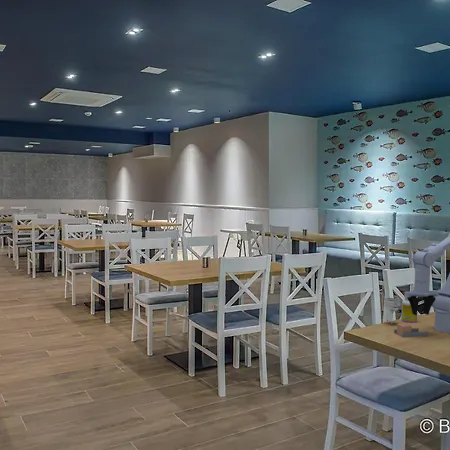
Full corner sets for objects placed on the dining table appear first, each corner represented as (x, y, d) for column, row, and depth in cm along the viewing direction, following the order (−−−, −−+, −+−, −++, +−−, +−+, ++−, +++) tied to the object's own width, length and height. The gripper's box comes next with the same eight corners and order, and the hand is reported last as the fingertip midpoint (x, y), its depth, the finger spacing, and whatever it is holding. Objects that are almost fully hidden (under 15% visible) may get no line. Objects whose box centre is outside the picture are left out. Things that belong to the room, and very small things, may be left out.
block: (405, 333, 207) (405, 323, 207) (411, 335, 203) (411, 326, 203) (396, 333, 206) (397, 323, 206) (402, 336, 202) (402, 326, 202)
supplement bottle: (417, 325, 224) (419, 297, 223) (402, 324, 225) (403, 296, 224) (415, 322, 231) (416, 294, 230) (400, 321, 232) (401, 293, 231)
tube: (417, 334, 210) (417, 328, 210) (427, 338, 204) (427, 332, 204) (393, 335, 207) (394, 329, 207) (402, 340, 201) (403, 333, 201)
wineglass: (381, 324, 225) (383, 297, 225) (397, 325, 225) (398, 298, 224) (385, 328, 219) (386, 301, 218) (401, 329, 218) (402, 301, 217)
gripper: (412, 283, 200) (410, 317, 200) (444, 282, 203) (442, 315, 204) (401, 280, 206) (400, 312, 207) (433, 279, 210) (431, 311, 211)
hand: (420, 314), depth 206 cm, fingers open, 5 cm apart
